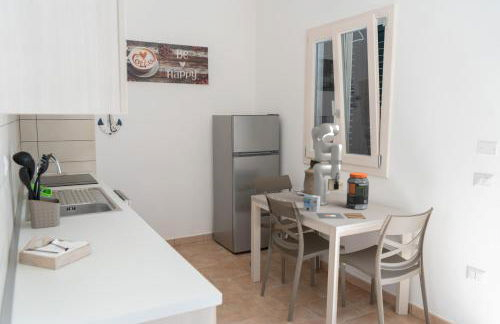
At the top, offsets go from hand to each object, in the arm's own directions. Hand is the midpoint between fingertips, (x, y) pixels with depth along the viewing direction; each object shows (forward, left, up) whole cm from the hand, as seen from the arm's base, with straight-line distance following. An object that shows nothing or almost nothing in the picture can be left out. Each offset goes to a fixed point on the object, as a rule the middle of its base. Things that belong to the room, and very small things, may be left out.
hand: (335, 188), depth 264 cm
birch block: (0, 0, -1) cm, 1 cm away
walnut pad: (0, +14, -19) cm, 24 cm away
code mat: (0, -3, -19) cm, 20 cm away
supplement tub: (-26, +23, -20) cm, 40 cm away
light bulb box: (-16, -13, -20) cm, 28 cm away
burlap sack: (-74, -1, -20) cm, 77 cm away
